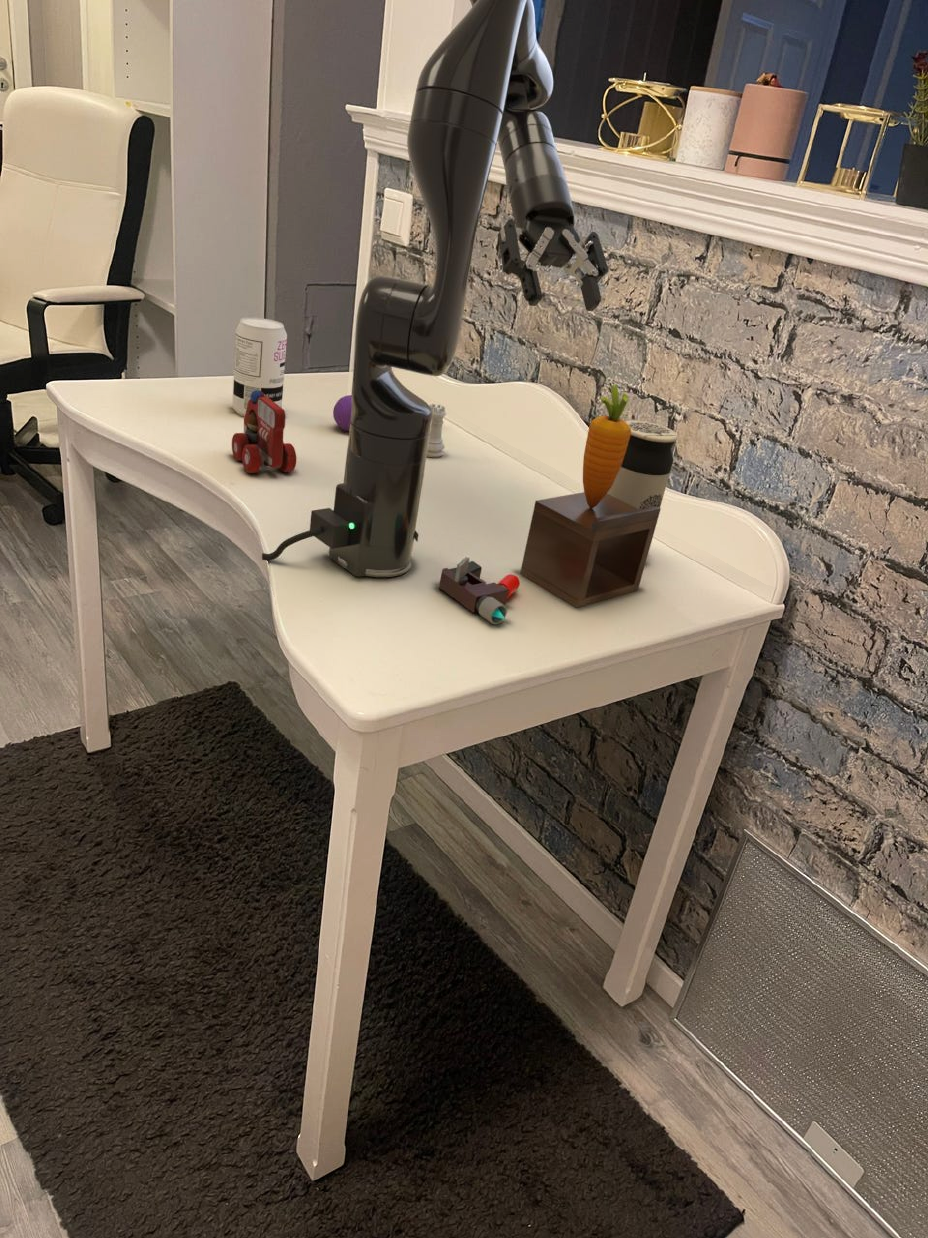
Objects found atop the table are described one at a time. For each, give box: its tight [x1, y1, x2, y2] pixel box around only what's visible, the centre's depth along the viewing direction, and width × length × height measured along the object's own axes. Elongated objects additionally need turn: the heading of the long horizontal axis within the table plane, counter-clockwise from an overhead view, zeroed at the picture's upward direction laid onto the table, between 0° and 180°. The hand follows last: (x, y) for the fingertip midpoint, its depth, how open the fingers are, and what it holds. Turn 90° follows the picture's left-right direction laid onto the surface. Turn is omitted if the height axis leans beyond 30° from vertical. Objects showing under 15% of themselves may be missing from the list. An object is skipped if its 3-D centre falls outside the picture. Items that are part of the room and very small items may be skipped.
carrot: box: [582, 384, 631, 508], centre depth 113 cm, size 5×5×15 cm
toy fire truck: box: [231, 390, 297, 474], centre depth 136 cm, size 7×12×10 cm, turn 30°
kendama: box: [332, 394, 352, 432], centre depth 163 cm, size 6×6×20 cm
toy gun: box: [438, 557, 521, 625], centre depth 111 cm, size 10×12×5 cm
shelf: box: [519, 491, 661, 609], centre depth 118 cm, size 12×10×11 cm
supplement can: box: [231, 317, 288, 417], centre depth 156 cm, size 8×8×15 cm
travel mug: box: [607, 420, 679, 510], centre depth 127 cm, size 8×8×18 cm
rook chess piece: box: [426, 403, 447, 459], centre depth 154 cm, size 4×4×8 cm
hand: (565, 305), depth 117 cm, fingers open, 8 cm apart
